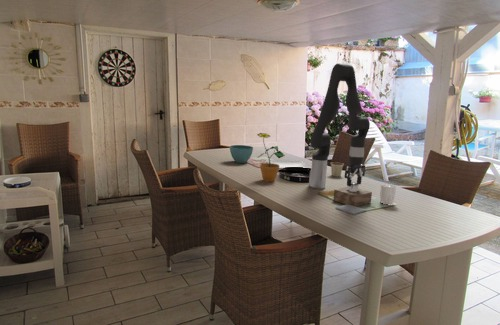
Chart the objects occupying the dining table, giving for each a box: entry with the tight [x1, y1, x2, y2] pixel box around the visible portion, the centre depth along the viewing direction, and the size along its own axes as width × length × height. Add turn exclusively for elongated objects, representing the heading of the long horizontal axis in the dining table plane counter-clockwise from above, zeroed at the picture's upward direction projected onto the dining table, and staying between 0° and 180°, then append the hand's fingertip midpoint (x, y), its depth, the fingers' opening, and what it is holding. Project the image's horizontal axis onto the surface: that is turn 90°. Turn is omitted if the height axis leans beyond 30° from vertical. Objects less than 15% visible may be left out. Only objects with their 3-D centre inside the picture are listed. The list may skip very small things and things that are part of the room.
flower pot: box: [330, 161, 345, 177], centre depth 266 cm, size 9×9×9 cm
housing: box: [332, 186, 373, 207], centre depth 205 cm, size 14×14×6 cm
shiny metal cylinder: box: [348, 181, 360, 193], centre depth 204 cm, size 5×5×8 cm
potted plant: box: [256, 132, 286, 183], centre depth 241 cm, size 18×19×30 cm
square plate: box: [267, 159, 309, 172], centre depth 285 cm, size 27×27×4 cm
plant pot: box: [229, 144, 254, 164], centre depth 299 cm, size 18×18×12 cm
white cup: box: [379, 183, 397, 205], centre depth 204 cm, size 8×8×10 cm
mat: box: [335, 204, 367, 216], centre depth 190 cm, size 11×10×1 cm
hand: (353, 185), depth 203 cm, fingers open, 8 cm apart
